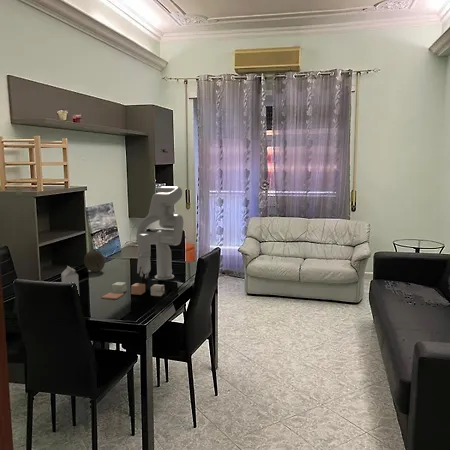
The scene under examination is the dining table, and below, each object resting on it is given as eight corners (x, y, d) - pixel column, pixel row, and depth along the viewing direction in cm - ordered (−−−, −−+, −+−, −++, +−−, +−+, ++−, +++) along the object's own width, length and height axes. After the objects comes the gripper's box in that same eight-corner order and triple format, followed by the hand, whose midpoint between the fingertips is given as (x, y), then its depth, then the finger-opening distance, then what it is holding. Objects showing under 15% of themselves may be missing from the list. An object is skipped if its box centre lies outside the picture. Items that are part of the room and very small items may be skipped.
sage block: (117, 290, 270) (117, 281, 269) (126, 290, 269) (126, 282, 268) (112, 292, 264) (112, 284, 264) (121, 293, 263) (121, 285, 262)
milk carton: (66, 303, 245) (64, 269, 242) (62, 300, 250) (60, 266, 248) (79, 301, 249) (77, 267, 246) (75, 297, 255) (73, 264, 252)
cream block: (154, 292, 264) (154, 284, 264) (164, 293, 263) (164, 285, 262) (150, 295, 259) (150, 287, 258) (160, 296, 257) (160, 287, 256)
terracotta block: (135, 291, 267) (135, 283, 267) (145, 292, 266) (145, 283, 265) (131, 294, 261) (131, 285, 261) (140, 295, 260) (140, 286, 259)
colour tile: (109, 293, 262) (109, 292, 262) (123, 294, 260) (123, 293, 260) (101, 298, 253) (101, 296, 253) (116, 299, 251) (116, 298, 251)
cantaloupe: (108, 269, 320) (107, 248, 318) (101, 274, 307) (100, 252, 304) (89, 269, 322) (88, 248, 320) (80, 274, 308) (79, 252, 306)
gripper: (143, 251, 278) (144, 281, 280) (133, 256, 264) (133, 287, 266) (155, 252, 276) (155, 281, 279) (144, 256, 262) (145, 287, 264)
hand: (144, 284), depth 272 cm, fingers closed
